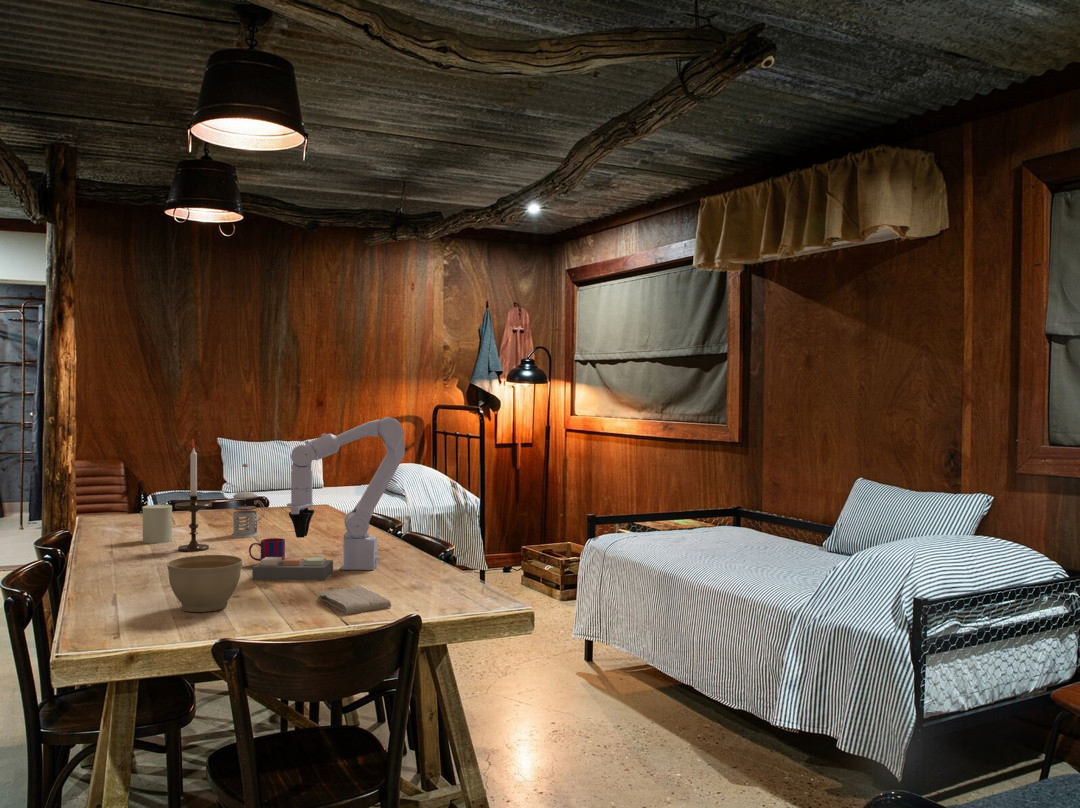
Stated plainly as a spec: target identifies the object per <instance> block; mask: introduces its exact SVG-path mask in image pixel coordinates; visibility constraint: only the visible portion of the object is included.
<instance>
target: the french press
mask: <svg viewBox="0 0 1080 808" xmlns="http://www.w3.org/2000/svg"><path fill="white" fill-rule="evenodd" d="M242 467H243V468H244V491H239V492H238V493H237V492H236V493H235V494H234V495H232V498H233V499H239V500H240V499H241V500H242V499H243V500H246V499H255V498H258V495H257V494H255V493H254V492H252V491H247V489H246V483H247V482H246V471H247V469H246V468H248V467H249V465H248V463H243V464H242ZM253 503H254V505H255V506H254V505H248V506H247V505H244V506H243V505H242V506H235V507H234V510H235V511H233V518H232V519H233V520H232V521H233V528H232V529H233V531H232V532H233V533H232V534H230V538H236V539H237V538H238V539H239V538H240V539H246V538H256V537H259V536H260V533H259V532H258V522H259V521H261V520H262V519H263V517H264V516H265V510H266V509H265V505H264V503H263V502H262V501H260V500H259V499H257V500H254V501H253ZM257 504H259V505H260V508H261V510H263V513H261V514H260V517H259V518H258V511H257V510H256V508H257V507H256V505H257Z"/></svg>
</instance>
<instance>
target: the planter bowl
mask: <svg viewBox="0 0 1080 808" xmlns="http://www.w3.org/2000/svg"><path fill="white" fill-rule="evenodd" d="M242 564H243V559H242V558H241V557H240V556H239V557H238V556H235V555H227V554H201V555H194V556H193V555H192V556H191V555H190V556H184V557H179V558H178V557H177V558H174V559H172V560H169V561H168V562H167V564H166V565H167V571H168V580H169V584H170V588H171V590H172V592H173V594H174V596H175V598H177V600H178V601H179V602H180V604H181V607H182V610H183V611H186V612H189V613H207V612H208V613H209V612H214V611H219V610H222V609H226V607H227V605H228V601H229V600H230V598H231V597H232V595H234V593H235V591H236V589H237V587H238V584H239V582H240V578H241V570H242Z"/></svg>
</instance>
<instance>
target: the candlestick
mask: <svg viewBox="0 0 1080 808" xmlns="http://www.w3.org/2000/svg"><path fill="white" fill-rule="evenodd" d="M191 447H192V451H191V452H190V484H189V485H190V487H189V488H190V490H189V491H190V493H189V494H188V495H186V496H187V497H189V501H184V502H177V503H175V504H174V509H177V510H187V511H188V512H190V513H191V515H190V516H191V517H190V520H191V521H190V522H191V523H190V524H188V528H189V529H190V532H189V533H188V534H189V535H191V536H190V537H191V539H190V541H189V543H188V544H183V545H179V546H178V547H177V548H178V549H177V551H178V552H181V553H182V552H183V553H194V552H195V553H196V552H197V553H198V552H204V551H209V548H210V545H209V544H205V543H199V542H198V541H197V535H198V531H197V528H199V524H198V523H197V512H198V511H200V510H201V509H207V508H212V506H213V503H212V502H211V501H210V502H209V501H198V497H199V496H201V495H200V494H198V466H197V465H198V453H197V452H196V449H195V447H196V445H195V440H194V439H193V438H192V439H191Z"/></svg>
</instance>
